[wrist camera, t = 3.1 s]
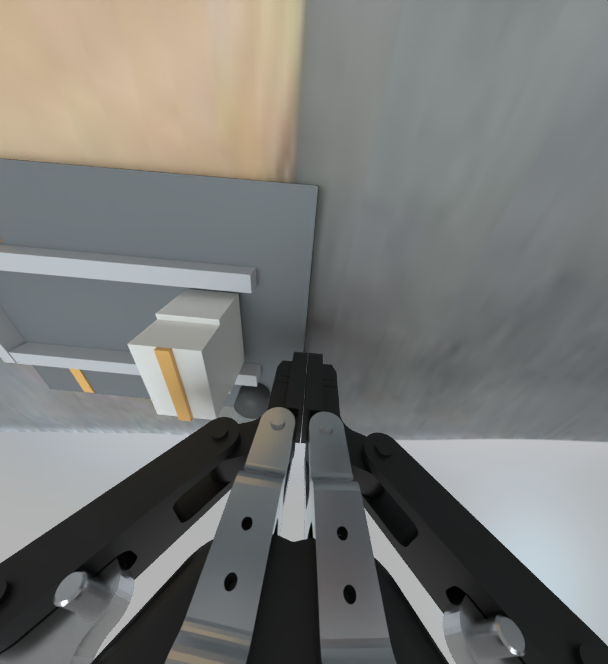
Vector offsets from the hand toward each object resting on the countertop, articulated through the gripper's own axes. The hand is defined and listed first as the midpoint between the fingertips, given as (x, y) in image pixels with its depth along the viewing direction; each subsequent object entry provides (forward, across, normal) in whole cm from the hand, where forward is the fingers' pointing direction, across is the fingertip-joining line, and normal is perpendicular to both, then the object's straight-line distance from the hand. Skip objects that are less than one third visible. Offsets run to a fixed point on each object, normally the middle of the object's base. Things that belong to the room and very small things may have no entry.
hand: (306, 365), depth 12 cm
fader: (+3, +6, 0) cm, 6 cm away
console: (+5, +11, 0) cm, 12 cm away
